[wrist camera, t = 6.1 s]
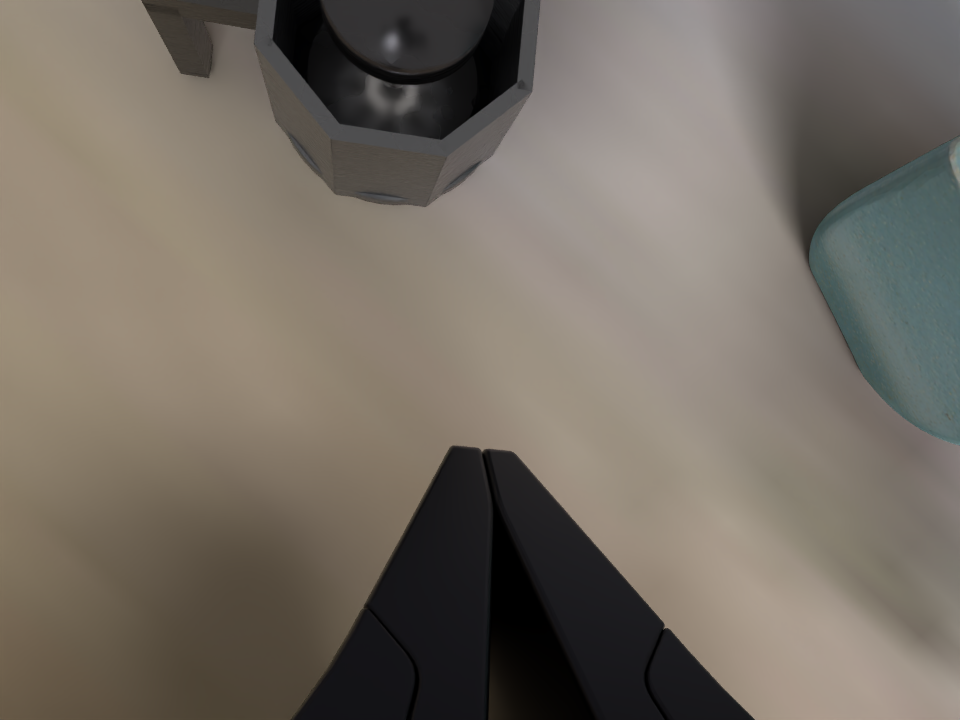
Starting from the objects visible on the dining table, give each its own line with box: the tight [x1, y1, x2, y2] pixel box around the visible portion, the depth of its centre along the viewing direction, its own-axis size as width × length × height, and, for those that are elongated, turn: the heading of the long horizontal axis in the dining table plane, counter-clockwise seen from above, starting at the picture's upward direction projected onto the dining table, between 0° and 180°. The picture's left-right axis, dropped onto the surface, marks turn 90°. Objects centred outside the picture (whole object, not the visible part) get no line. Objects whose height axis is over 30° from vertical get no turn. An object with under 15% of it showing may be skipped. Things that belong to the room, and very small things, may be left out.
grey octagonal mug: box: [141, 0, 540, 207], centre depth 20 cm, size 7×10×5 cm
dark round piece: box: [308, 0, 494, 140], centre depth 19 cm, size 5×5×6 cm
